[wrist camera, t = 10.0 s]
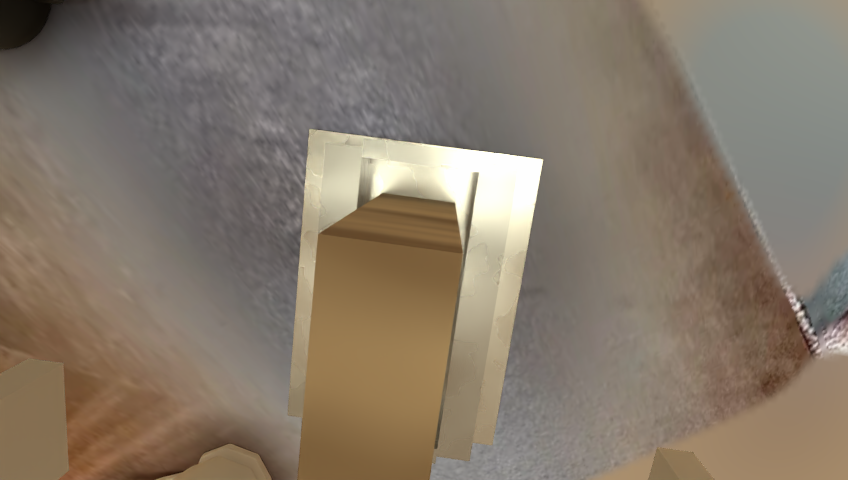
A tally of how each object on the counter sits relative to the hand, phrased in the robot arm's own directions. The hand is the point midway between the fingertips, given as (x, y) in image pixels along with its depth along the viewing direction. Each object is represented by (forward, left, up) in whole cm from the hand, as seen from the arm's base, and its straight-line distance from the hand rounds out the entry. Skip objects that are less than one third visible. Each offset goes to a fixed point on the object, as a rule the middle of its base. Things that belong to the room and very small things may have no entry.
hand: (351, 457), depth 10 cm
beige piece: (0, 0, -13) cm, 13 cm away
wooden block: (0, 0, -13) cm, 13 cm away
